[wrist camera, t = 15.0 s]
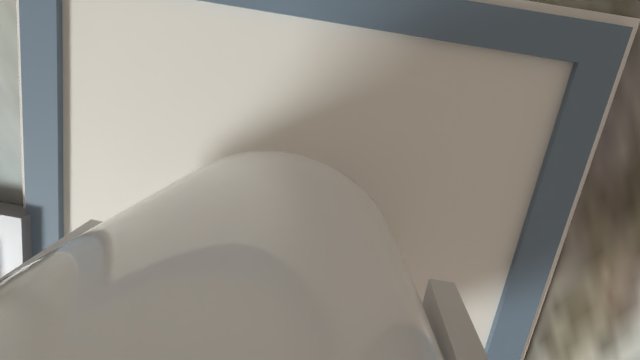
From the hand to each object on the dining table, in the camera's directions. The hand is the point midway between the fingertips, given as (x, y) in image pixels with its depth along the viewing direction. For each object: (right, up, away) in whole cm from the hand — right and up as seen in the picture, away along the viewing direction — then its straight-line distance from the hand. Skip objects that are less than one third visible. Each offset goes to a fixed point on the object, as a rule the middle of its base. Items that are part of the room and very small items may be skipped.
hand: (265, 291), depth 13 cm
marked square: (0, +1, +3) cm, 3 cm away
